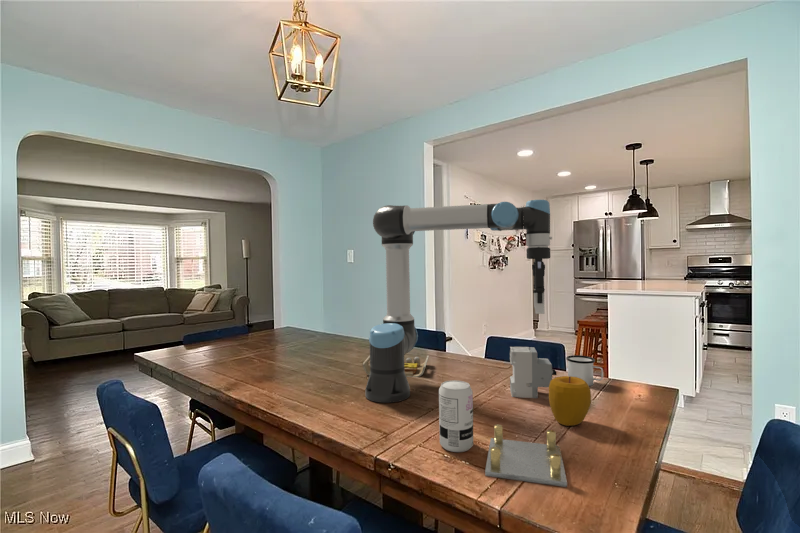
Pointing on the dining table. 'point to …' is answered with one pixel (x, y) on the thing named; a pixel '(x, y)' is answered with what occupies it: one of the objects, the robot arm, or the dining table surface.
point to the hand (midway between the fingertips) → (538, 310)
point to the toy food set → (405, 367)
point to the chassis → (525, 460)
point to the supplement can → (456, 416)
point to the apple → (569, 399)
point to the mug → (582, 368)
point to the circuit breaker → (528, 372)
